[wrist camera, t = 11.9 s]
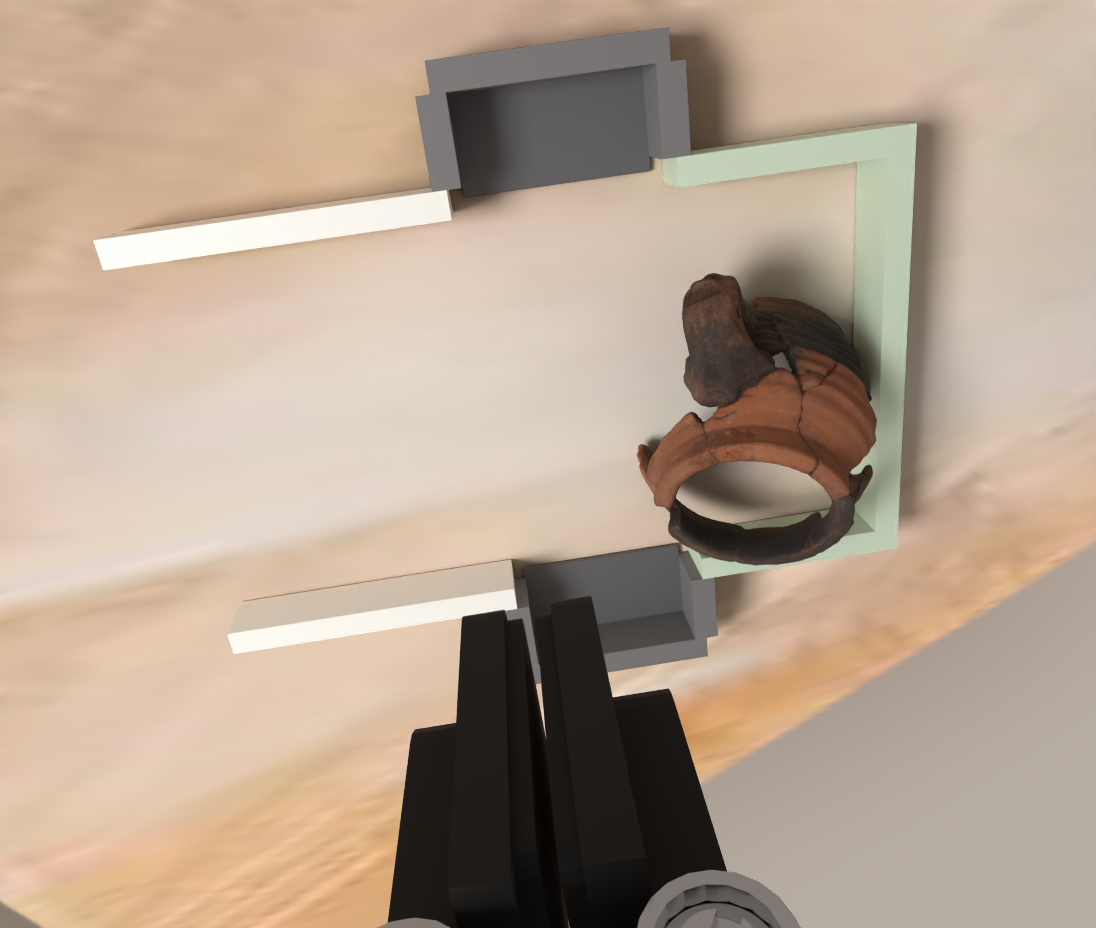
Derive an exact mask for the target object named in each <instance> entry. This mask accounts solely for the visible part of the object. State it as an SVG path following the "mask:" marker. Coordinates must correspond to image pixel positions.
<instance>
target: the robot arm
mask: <svg viewBox="0 0 1096 928" xmlns="http://www.w3.org/2000/svg"><path fill="white" fill-rule="evenodd" d="M550 606H551V614H545V615H539V616H536V617H535V618H536V630H537V641H538V652H539V663H540V674H541V685H542V696H543V707H544V719H545V730H546V736H545V731H544V726H543V721H542V715H541V710H540V705H539V700H538V694H537V689H536V684H535V679H534V674H533V668H532V663H531V658H530V653H529V647H528V642H527V637H526V632H525V626H524V622H523V619H522V618H520V619H514V620H507V615H506V612H505V610H499V611H492V612H486V613H480V614H474V615H468V616H463V617H462V626H461V645H460V663H459V682H458V700H457V719H456V723H452V724H446V725H440V726H434V727H428V728H421V729H415V730H414V732H413V733H412V737H411V742H410V749H409V757H408V765H407V773H406V781H405V789H404V797H403V805H402V813H401V821H400V829H399V837H398V845H397V853H396V861H395V869H394V877H393V885H392V893H391V901H390V909H389V917H388V923H387V924H385V925H382V926H380V927H378V928H569V926H570V928H800V926H799V924H798V922H797V920H796V918H795V917H794V916H793V914H792V913H791V912H790V910H789V909H788V908H787V906H786V905H785V904H784V902H783V901H782V900H781V899H780V897H779V896H777V895H776V894H775V893H773V892H772V891H771V890H769V889H768V888H767V887H765V886H764V885H762V884H761V883H760V882H758V881H755V880H753V879H751V878H748V877H745V876H743V875H740V874H738V873H734V872H727V870H726V867H725V864H724V860H723V857H722V854H721V851H720V847H719V844H718V841H717V838H716V834H715V831H714V828H713V825H712V822H711V818H710V815H709V812H708V809H707V805H706V802H705V799H704V796H703V793H702V789H701V786H700V783H699V780H698V776H697V773H696V770H695V767H694V764H693V760H692V757H691V754H690V751H689V748H688V744H687V741H686V738H685V735H684V731H683V728H682V725H681V722H680V719H679V715H678V712H677V709H676V706H675V702H674V699H673V697H672V694H671V692H670V690H669V689H663V690H656V691H650V692H644V693H638V694H632V695H626V696H619V697H612V692H611V687H610V683H609V678H608V673H607V668H606V664H605V659H604V654H603V649H602V644H601V640H600V635H599V630H598V625H597V620H596V616H595V611H594V606H593V601H592V597H591V596H585V597H579V598H573V599H567V600H561V601H554V602H550ZM546 741H547V742H546ZM568 921H569V924H568Z"/></svg>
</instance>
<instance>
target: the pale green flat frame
mask: <svg viewBox="0 0 1096 928" xmlns="http://www.w3.org/2000/svg"><path fill="white" fill-rule="evenodd" d="M425 65H426V71H427V77H428V83H429V89H430V95H423V96H416V97H415V98H416V104H417V109H418V115H419V121H420V126H421V132H422V138H423V144H424V149H425V155H426V161H427V166H428V172H429V178H430V183H431V188H424V189H417V190H410V191H403V192H396V193H388V194H381V195H374V196H367V197H360V198H353V199H346V200H339V201H332V202H325V203H318V204H311V205H304V206H297V207H290V208H283V209H276V210H269V211H262V212H255V213H248V214H241V215H234V216H227V217H220V218H213V219H206V220H199V221H192V222H185V223H178V224H171V225H164V226H156V227H149V228H142V229H135V230H128V231H122V232H119V233H115V234H112V235H109V236H106V237H103V238H99V239H96V240H93V241H94V244H95V247H96V250H97V253H98V256H99V259H100V262H101V265H102V268H103V270H109V269H116V268H122V267H129V266H136V265H143V264H150V263H157V262H164V261H171V260H178V259H185V258H192V257H199V256H206V255H213V254H220V253H227V252H234V251H241V250H248V249H255V248H262V247H269V246H276V245H283V244H290V243H297V242H304V241H310V240H317V239H324V238H331V237H338V236H345V235H352V234H359V233H366V232H373V231H380V230H387V229H394V228H401V227H408V226H415V225H422V224H429V223H436V222H443V221H450V220H452V216H453V210H452V204H451V198H450V192H449V190H451V189H458V188H461V185H462V189H463V195H464V198H465V197H472V196H479V195H486V194H493V193H500V192H507V191H514V190H521V189H528V188H535V187H542V186H549V185H556V184H563V183H570V182H577V181H584V180H591V179H598V178H605V177H612V176H619V175H626V174H633V173H640V172H647V171H650V163H649V157H653V158H658V159H661V160H662V174H663V183H665V184H669V185H672V186H675V187H678V188H679V187H686V186H693V185H700V184H707V183H714V182H721V181H728V180H735V179H742V178H749V177H756V176H763V175H770V174H777V173H784V172H791V171H798V170H805V169H812V168H819V167H826V166H833V165H840V164H847V163H854V162H857V178H856V228H855V279H854V329H853V348H854V349H855V350H856V351H857V353H858V357H859V358H860V360H861V361H862V363H863V366H864V370H865V372H866V376H867V380H868V382H869V384H870V387H871V397H872V400H871V401H870V405H871V406H872V408H873V410H874V413H875V415H876V418H877V424H876V431H875V434H876V443H875V444H874V445H873V447H872V448H871V450H870V452H869V453H868V455H867V456H866V457H864V458H863V459H862V461H861V463H860V464H859V465H858V466H856V467H855V468H853V469H852V471H851V473H852V474H853V475H854V474H859V473H861V471H862V470H863V468H864V467H865V466H866V465H871V466H872V469H873V476H872V479H871V480H870V482H869V484H868V486H867V488H866V489H865V490H864V492H863V494H862V496H861V497H860V499H859V500H858V501H857V502H856V504H855V514H854V518H853V520H854V524H853V525H852V526H851V528H850V530H849V531H848V532H847V533H846V535H845V536H844V537H842V538H841V539H840V541H839V542H838V543H836V544H834V545H833V546H832V547H830V548H829V549H827V550H825V551H824V552H822V553H818V554H817V555H816V556H814V557H811V558H808V559H805V560H802V561H799V562H792V563H786V564H779V565H756V566H754V565H749V564H741V563H738V562H728V561H722V560H718V559H714V558H711V557H708V556H705V555H703V554H700V553H698V552H696V551H694V550H692V549H691V548H689V547H688V551H686V552H678V544H677V543H675V544H668V545H662V546H656V547H649V548H643V549H637V550H630V551H624V552H618V553H611V554H605V555H599V556H592V557H586V558H580V559H573V560H567V561H560V562H554V563H548V564H541V565H535V566H529V567H524V572H525V577H521V578H515V579H514V573H513V568H512V562H511V559H510V560H504V561H498V562H491V563H485V564H479V565H472V566H466V567H460V568H453V569H447V570H441V571H434V572H428V573H421V574H415V575H409V576H402V577H396V578H390V579H383V580H377V581H371V582H364V583H358V584H352V585H345V586H339V587H332V588H326V589H320V590H313V591H307V592H301V593H294V594H288V595H282V596H275V597H269V598H263V599H256V600H250V601H243V602H242V604H241V606H240V608H239V610H238V612H237V614H236V616H235V618H234V621H233V623H232V625H231V627H230V629H229V631H228V633H227V636H228V638H229V641H230V644H231V647H232V650H233V653H234V654H237V653H243V652H250V651H256V650H262V649H268V648H275V647H281V646H287V645H293V644H300V643H306V642H312V641H319V640H325V639H331V638H337V637H344V636H350V635H356V634H363V633H369V632H375V631H381V630H388V629H394V628H400V627H407V626H413V625H419V624H425V623H432V622H438V621H444V620H450V619H457V618H462V617H463V616H468V615H474V614H480V613H486V612H492V611H499V610H505V611H506V615H507V620H514V619H520V618H522V619H523V622H524V626H525V632H526V637H527V642H528V647H529V653H530V658H531V663H532V668H533V674H534V679H535V684H539V683H541V674H540V663H539V652H538V641H537V630H536V618H535V617H536V616H539V615H545V614H551V606H550V602H554V601H561V600H567V599H573V598H579V597H585V596H591V597H592V601H593V606H594V611H595V616H596V620H597V625H598V630H599V635H600V640H601V644H602V649H603V654H604V659H605V664H606V668H607V672H613V671H619V670H625V669H631V668H637V667H644V666H650V665H656V664H662V663H668V662H674V661H680V660H687V659H693V658H699V657H705V656H708V653H707V637H713V636H718V632H717V614H716V596H715V578H714V577H720V576H727V575H733V574H739V573H746V572H752V571H758V570H764V569H771V568H777V567H783V566H790V565H796V564H802V563H808V562H815V561H821V560H827V559H833V558H840V557H846V556H852V555H859V554H865V553H871V552H877V551H884V550H890V549H896V548H897V542H898V521H899V499H900V477H901V456H902V434H903V413H904V391H905V370H906V348H907V327H908V305H909V284H910V262H911V240H912V219H913V197H914V176H915V154H916V133H917V123H881V124H874V125H867V126H860V127H853V128H845V129H838V130H831V131H824V132H817V133H810V134H803V135H796V136H789V137H782V138H775V139H768V140H761V141H754V142H747V143H740V144H733V145H726V146H719V147H712V148H705V149H698V150H691V145H690V127H689V109H688V91H687V73H686V59H683V60H676V61H671V55H670V39H669V27H667V28H660V29H652V30H645V31H638V32H631V33H623V34H616V35H609V36H601V37H594V38H587V39H580V40H572V41H565V42H558V43H550V44H543V45H536V46H529V47H521V48H514V49H507V50H499V51H492V52H485V53H478V54H470V55H463V56H456V57H448V58H441V59H434V60H427V61H425ZM829 510H830V509H828V510H822V511H816V512H819V513H820V514H821V516H822V518H823V517H824V516H825V515H826V514H827V513H828V512H829ZM813 513H815V512H809V513H803V514H797V515H790V516H784V517H777V518H771V519H765V520H758V521H752V522H746V523H739V524H735V525H739V526H741V527H743V528H744V529H753V528H762V527H785V526H789V525H791V524H795V523H798V522H800V521H802V520H804V519H806V518H807V517H808V516H809V515H811V514H813Z"/></svg>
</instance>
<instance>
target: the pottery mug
mask: <svg viewBox="0 0 1096 928" xmlns="http://www.w3.org/2000/svg"><path fill="white" fill-rule="evenodd" d="M682 319H683V328H684V333H685V338H686V342H687V345H688V350H689V357H687V359H686V364H685V374H684V383H685V385H686V386H687V388H688V389H689V391H690V392H691V394H692V396H693V398H694V400H695V401H697V402H698V403H699V404H700V405H702V406H706V407H716V406H717V407H718V409H717V411H716V412H715V413H714V414H713V416H712V417H711V418H709V419H708V420H707V421H705V422H703V421H702V420H701V419H700V418H699V417H698V415H697V414H696V413H694V412H689V413H688V414H686V415H685V416H684V417H683V418H682V419H681V420H680V421H679V422H678V423H677V424H676V425H675V426H674V427H673V429H672V430H671V431H670V432H669V433H668V434H667V435H666V436H665V437H664V438H663V439H662V441H661V443H660V445H659V446H658V448H657V449H656V451H655V452H654V453H653V452H652V451H651V450H650V449H649V448H648V447H647V446H646V445H643V444H641V445H639V446H638V450H639V451H638V453H637V457H638V460H639V462H640V471H641V473H642V475H643V477H644V479H645V481H646V482H647V484H648V485H649V487H650V489H651V491H652V492H653V494H654V503H655V505H656V506H661V507H665V508H666V509H667V510H668V511H669V512H670V521H669V525H668V531H669V534H670V535H671V536H672V537H673V538H675V539H676V540H678V541H679V542H680V543H682V544H683V545H685V546H686V547H689V548H691V549H692V550H694V551H696V552H698V553H700V554H703V555H705V556H708V557H711V558H714V559H718V560H722V561H728V562H738V563H741V564H749V565H754V566H756V565H779V564H786V563H792V562H799V561H802V560H805V559H808V558H811V557H814V556H816V555H817V554H818V553H822V552H824V551H825V550H827V549H829V548H830V547H832V546H833V545H834V544H836V543H838V542H839V541H840V539H841V538H842V537H844V536H845V535H846V533H847V532H848V531H849V530H850V528H851V526H852V525H853V524H854V520H853V518H854V514H855V504H856V502H857V501H858V500H859V499H860V497H861V496H862V494H863V492H864V490H865V489H866V488H867V486H868V484H869V482H870V480H871V479H872V476H873V469H872V466H871V465H866V466H865V467H864V468H863V470H862V471H861V473H859V474H854V475H853V474H852V473H850V472H851V471H852V469H853V468H855V467H856V466H858V465H859V464H860V463H861V461H862V459H863V458H864V457H866V456H867V455H868V453H869V452H870V450H871V448H872V447H873V445H874V444H875V443H876V434H875V431H876V424H877V418H876V415H875V413H874V410H873V408H872V406H871V405H870V401H871V400H872V397H871V387H870V384H869V382H868V380H867V376H866V372H865V370H864V366H863V363H862V361H861V360H860V358H859V357H858V353H857V351H856V350H855V349H854V348H853V347H852V346H851V345H850V344H849V342H848V340H847V338H846V336H845V334H844V333H843V332H842V330H841V328H840V327H839V326H838V325H837V324H836V323H835V322H834V321H833V320H832V319H831V318H829V317H828V316H827V315H826V314H825V313H823V312H821V311H819V310H817V309H815V308H813V307H811V306H809V305H807V304H805V303H802V302H799V301H796V300H791V299H780V298H756V299H755V300H754V308H753V307H752V306H750V305H749V304H748V303H747V302H746V301H745V300H744V299H743V297H742V294H741V290H740V286H739V284H738V282H737V280H736V279H735V278H734V277H733V276H724V275H720V274H716V273H712V274H708V275H707V276H705V277H704V278H703V279H702V280H699V281H696V282H694V283H693V284H692V285H691V287H690V289H689V290H688V292H687V293H686V294H685V297H684V300H683V312H682ZM779 353H784V354H785V357H786V359H787V361H788V363H789V366H790V367H791V369H792V373H791V372H790V371H788V370H786V369H784V368H777V367H775V361H774V359H773V356H775V355H777V354H779ZM733 461H757V462H768V463H774V464H779V465H782V466H787V467H790V468H793V469H795V470H798V471H800V472H802V473H805V474H808V475H809V476H810V477H811V478H813V479H814V480H816V481H817V482H818V483H820V484H821V485H822V486H823V487H824V489H825V490H826V491H827V493H828V494H829V496H830V497H831V499H832V506H831V508H830V510H829V512H828V513H827V514H826V515H825V516H824V517H823V518H822V516H821V514H820V513H819V512H815V513H813V514H811V515H809V516H808V517H807V518H806V519H804V520H802V521H800V522H798V523H795V524H791V525H789V526H785V527H762V528H753V529H744V528H743V527H741V526H739V525H735V524H731V523H725V522H720V521H716V520H712V519H709V518H706V517H703V516H700V515H698V514H696V513H695V512H693V511H691V510H690V509H688V508H687V507H686V506H684V505H683V504H682V503H681V502H679V501H678V500H677V499H676V494H677V492H678V489H679V488H680V486H681V484H682V483H683V482H685V481H686V480H687V479H688V478H690V477H691V476H692V475H694V474H696V473H697V472H699V471H701V470H704V469H706V468H708V467H711V466H713V465H716V464H718V463H720V462H733Z"/></svg>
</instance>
